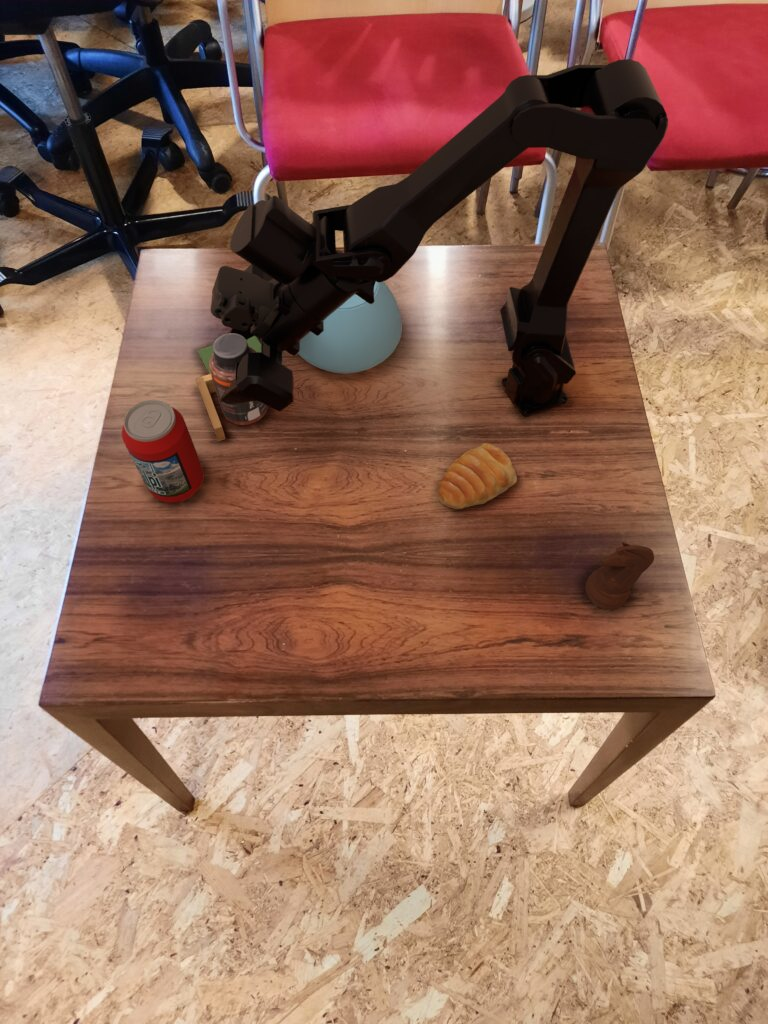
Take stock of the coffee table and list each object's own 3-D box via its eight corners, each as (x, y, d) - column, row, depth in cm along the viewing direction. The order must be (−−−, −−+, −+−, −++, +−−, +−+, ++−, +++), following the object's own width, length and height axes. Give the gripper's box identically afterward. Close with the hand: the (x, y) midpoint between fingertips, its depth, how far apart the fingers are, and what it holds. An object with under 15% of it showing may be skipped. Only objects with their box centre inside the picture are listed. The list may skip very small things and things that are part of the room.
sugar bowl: (311, 292, 104) (303, 222, 95) (413, 312, 102) (416, 243, 92) (275, 368, 97) (262, 301, 87) (384, 391, 95) (384, 325, 85)
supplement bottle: (270, 425, 92) (256, 362, 82) (222, 429, 92) (203, 367, 82) (268, 388, 95) (254, 324, 85) (221, 393, 95) (203, 329, 85)
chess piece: (582, 571, 81) (605, 526, 73) (628, 572, 81) (657, 527, 73) (587, 609, 79) (612, 567, 70) (635, 610, 79) (665, 568, 70)
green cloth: (252, 331, 100) (252, 329, 100) (270, 360, 98) (269, 358, 97) (197, 352, 99) (196, 350, 98) (213, 382, 96) (213, 380, 96)
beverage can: (137, 495, 87) (103, 433, 76) (167, 452, 90) (138, 387, 80) (187, 513, 85) (160, 452, 75) (215, 469, 89) (193, 405, 78)
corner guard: (271, 369, 97) (269, 356, 95) (293, 417, 93) (291, 404, 91) (199, 391, 95) (195, 378, 93) (218, 441, 91) (214, 429, 89)
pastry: (461, 526, 84) (464, 508, 81) (423, 488, 87) (424, 469, 84) (520, 483, 87) (525, 465, 84) (481, 448, 90) (485, 429, 87)
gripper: (250, 197, 79) (172, 283, 88) (243, 321, 69) (156, 403, 78) (329, 254, 86) (249, 328, 95) (332, 375, 76) (243, 444, 85)
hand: (225, 372), depth 88 cm, fingers open, 9 cm apart
